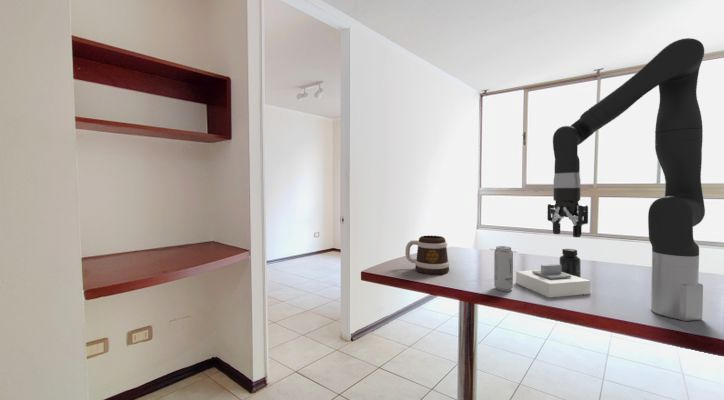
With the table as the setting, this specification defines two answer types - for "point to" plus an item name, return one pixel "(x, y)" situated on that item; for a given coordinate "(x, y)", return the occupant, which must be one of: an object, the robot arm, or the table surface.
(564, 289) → the socket plate
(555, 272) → the grey stepped block
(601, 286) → the table surface
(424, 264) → the mug
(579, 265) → the supplement bottle
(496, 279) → the energy drink can
